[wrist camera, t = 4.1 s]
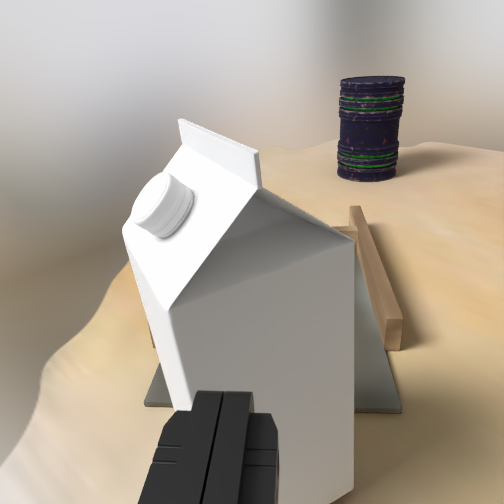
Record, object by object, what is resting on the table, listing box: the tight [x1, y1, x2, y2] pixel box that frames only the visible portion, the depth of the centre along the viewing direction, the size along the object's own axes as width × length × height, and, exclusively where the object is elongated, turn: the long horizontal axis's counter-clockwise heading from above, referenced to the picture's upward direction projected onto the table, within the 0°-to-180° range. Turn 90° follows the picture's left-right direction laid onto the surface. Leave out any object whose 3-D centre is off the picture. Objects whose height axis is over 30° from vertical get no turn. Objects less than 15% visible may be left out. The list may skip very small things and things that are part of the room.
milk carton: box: [122, 119, 355, 504], centre depth 19 cm, size 7×7×19 cm
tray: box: [144, 206, 404, 413], centre depth 40 cm, size 19×29×3 cm
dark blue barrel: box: [337, 76, 405, 182], centre depth 69 cm, size 10×10×15 cm
